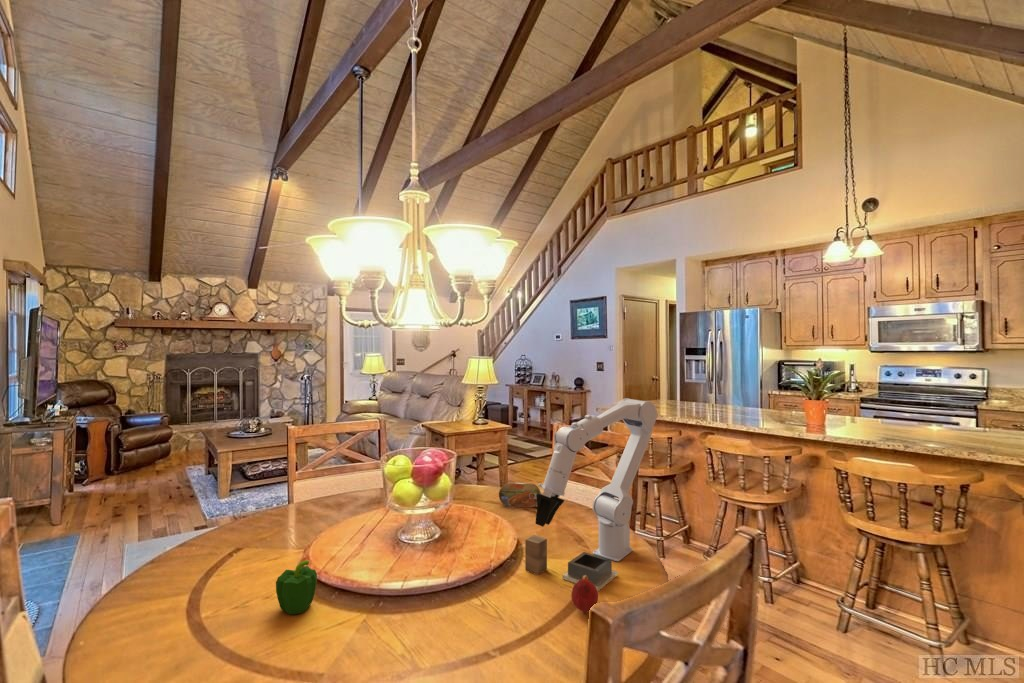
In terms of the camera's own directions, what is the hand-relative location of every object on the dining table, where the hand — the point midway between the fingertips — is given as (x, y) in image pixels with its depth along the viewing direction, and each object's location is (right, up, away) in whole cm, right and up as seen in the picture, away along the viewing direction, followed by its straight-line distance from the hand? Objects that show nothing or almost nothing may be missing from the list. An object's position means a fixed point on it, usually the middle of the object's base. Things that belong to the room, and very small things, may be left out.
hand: (542, 524), depth 126 cm
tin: (-5, -13, +52) cm, 54 cm away
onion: (+8, -13, -18) cm, 24 cm away
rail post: (-1, -13, +2) cm, 13 cm away
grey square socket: (+12, -13, -2) cm, 17 cm away
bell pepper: (-55, -13, -17) cm, 59 cm away
